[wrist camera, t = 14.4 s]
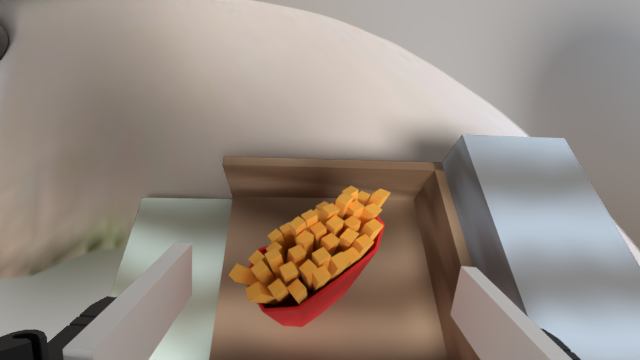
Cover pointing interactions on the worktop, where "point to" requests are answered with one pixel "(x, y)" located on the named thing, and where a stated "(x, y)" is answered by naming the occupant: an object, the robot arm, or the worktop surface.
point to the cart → (404, 255)
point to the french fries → (314, 258)
